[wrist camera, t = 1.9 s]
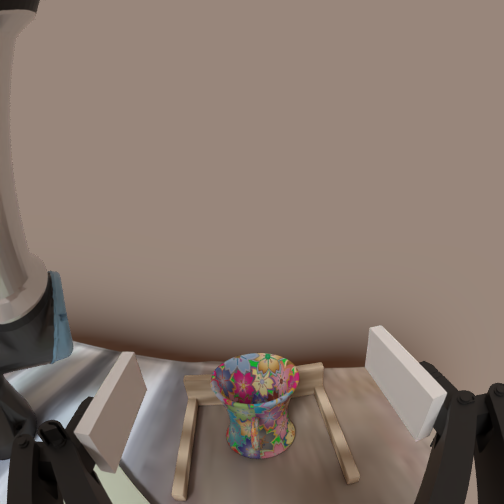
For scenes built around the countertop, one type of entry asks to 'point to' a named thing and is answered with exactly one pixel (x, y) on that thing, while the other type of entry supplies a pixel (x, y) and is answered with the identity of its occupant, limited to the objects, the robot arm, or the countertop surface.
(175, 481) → the mug holder
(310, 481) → the countertop surface
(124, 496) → the board
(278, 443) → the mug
